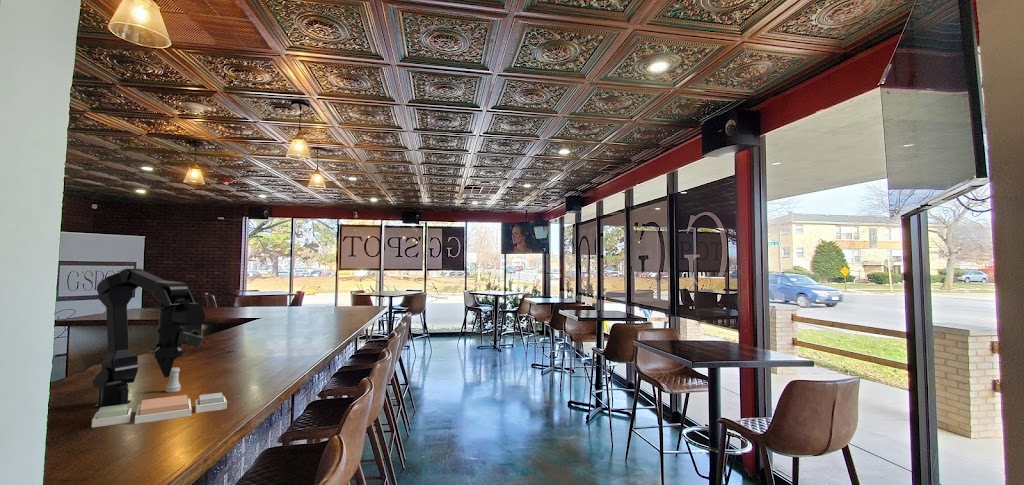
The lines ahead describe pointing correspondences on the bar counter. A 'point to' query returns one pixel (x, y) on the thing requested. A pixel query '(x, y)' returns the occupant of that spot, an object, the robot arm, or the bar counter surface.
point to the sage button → (112, 411)
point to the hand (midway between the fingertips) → (166, 377)
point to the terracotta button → (164, 404)
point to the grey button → (210, 398)
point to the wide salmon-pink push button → (162, 415)
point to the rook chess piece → (173, 381)
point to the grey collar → (210, 406)
